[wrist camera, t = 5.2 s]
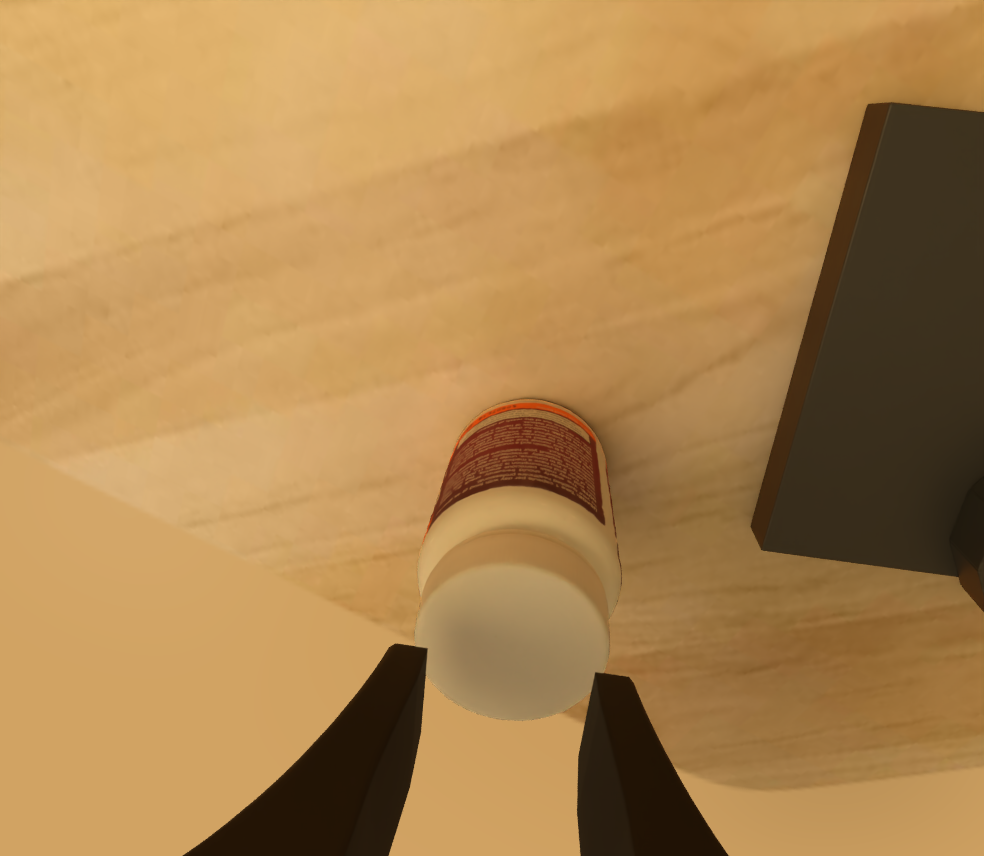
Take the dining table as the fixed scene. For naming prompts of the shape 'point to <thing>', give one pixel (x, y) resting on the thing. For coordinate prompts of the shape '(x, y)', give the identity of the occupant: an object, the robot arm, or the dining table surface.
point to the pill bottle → (520, 565)
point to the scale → (892, 363)
